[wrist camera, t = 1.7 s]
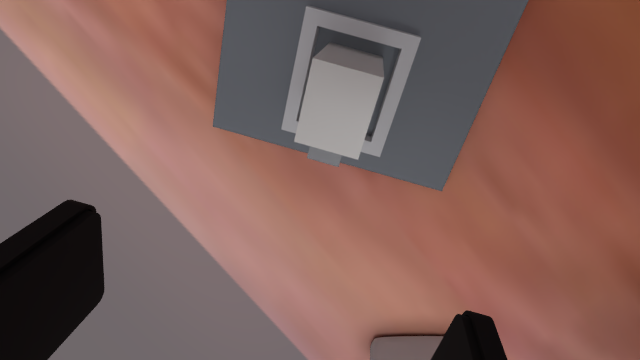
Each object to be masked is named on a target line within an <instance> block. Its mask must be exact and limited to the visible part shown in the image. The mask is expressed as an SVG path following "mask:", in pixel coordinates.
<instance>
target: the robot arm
mask: <svg viewBox="0 0 640 360" xmlns="http://www.w3.org/2000/svg"><path fill="white" fill-rule="evenodd" d="M103 293H104V273H103V251H102V231H101V217H100V215H99V214H98V213H96V209H95V207H94V206H92V205H88V204H85V203H81V202H77V201H74V200H67V201H65V202H63V203H61V204H60V205H58V206H57V207H55V208H54V209H52V210H51V211H49V212H48V213H46V214H45V215H43V216H42V217H40V218H38V219H37V220H36V221H34V222H33V223H31V224H29V225H28V226H26V227H25V228H23V229H22V230H20V231H19V232H17V233H16V234H14V235H13V236H11V237H9V238H8V239H6V240H5V241H4V242H2V243H0V360H47V359H48V358H49V357H50V356H51V355H52V354H53V353H54V352H55V351H56V350H57V348H58V347H59V346H60V345H61V344H62V343H63V342H64V341H65V340H66V339H67V337H68V336H69V335H70V334H71V333H72V332H73V331H74V330H75V329H76V328H77V326H78V325H79V324H80V323H81V322H82V321H83V320H84V319H85V317H86V316H87V315H88V314H89V313H90V312H91V311H92V310H93V309H94V308H95V307H96V306H97V304H98V303H99V302H100V300H101V299H102V296H103ZM431 360H507V357H506V355H505V352H504V349H503V346H502V343H501V341H500V338H499V335H498V332H497V329H496V327H495V324H494V321H493V319H492V318H491V317H489V316H486V315H482V314H479V313H475V312H472V311H465V312H464V313H463V314H462V315H460V314H457V315H456V316H455V317H454V319H453V321H452V323H451V324H450V326H449V328H448V330H447V332H446V333H445V335H444V337H443V339H442V340H441V342H440V344H439V346H438V347H437V349H436V351H435V353H434V354H433V356H432V358H431Z"/></svg>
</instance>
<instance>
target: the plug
mask: <svg viewBox="0 0 640 360" xmlns="http://www.w3.org/2000/svg"><path fill="white" fill-rule="evenodd" d="M383 80H384V67H383V57H382V56H378V55H374V54H371V53H367V52H363V51H360V50H356V49H353V48H349V47H345V46H342V45H338V44H335V43H331V42H330V43H329V44H328V45H327V46H325V47H324V48H323V49H322V50H321V51H320V52H319V53H318V54H317V55H316V56H314V57H313V59H312V64H311V68H310V72H309V77H308V81H307V86H306V90H305V95H304V99H303V104H302V108H301V113H300V117H299V122H298V126H297V130H296V135H295V139H294V142H297V143H300V144H304V145H307V146H310V148H309V152H308V156H307V158H309V159H312V160H316V161H319V162H323V163H326V164H330V165H333V166H337V167H339V164H340V160H341V157H342V155H343V156H346V157H350V158H353V159H357V160H358V158H359V155H360V152H361V149H362V146H363V143H364V139H365V136H366V133H367V130H368V127H369V124H370V121H371V118H372V114H373V111H374V108H375V105H376V102H377V99H378V96H379V92H380V89H381V86H382V83H383Z"/></svg>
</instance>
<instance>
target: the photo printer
mask: <svg viewBox="0 0 640 360" xmlns="http://www.w3.org/2000/svg"><path fill="white" fill-rule="evenodd" d="M443 337H444V336H395V337H380V338H375V339H374V340H373V342H372V343H371V346H370V360H431V358H432V356H433V354H434V353H435V351H436V349H437V347H438V346H439V344H440V342H441V340H442V339H443Z"/></svg>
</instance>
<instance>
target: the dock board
mask: <svg viewBox="0 0 640 360" xmlns="http://www.w3.org/2000/svg"><path fill="white" fill-rule="evenodd" d="M527 2H528V0H227V4H226V13H225V22H224V30H223V39H222V48H221V57H220V66H219V75H218V84H217V93H216V102H215V111H214V120H213V127H217V128H220V129H224V130H227V131H231V132H234V133H238V134H241V135H245V136H249V137H252V138H256V139H259V140H263V141H266V142H270V143H273V144H277V145H280V146H284V147H287V148H291V149H294V150H298V151H302V152H305V153H308V152H309V148H310V146H307V145H304V144H300V143H297V142H294V139H295V135H296V130H297V126H298V122H299V117H300V113H301V108H302V104H303V99H304V95H305V90H306V86H307V81H308V77H309V72H310V68H311V64H312V59H313V57H314V56H316V55H317V54H318V53H319V52H320V51H321V50H322V49H323V48H324V47H325V46H327V45H328V44H329V43H330V42H331V43H335V44H338V45H342V46H345V47H349V48H353V49H356V50H360V51H363V52H367V53H371V54H374V55H378V56H382V57H383V67H384V80H383V83H382V86H381V89H380V92H379V96H378V99H377V102H376V105H375V108H374V111H373V114H372V118H371V121H370V124H369V127H368V130H367V133H366V136H365V139H364V143H363V146H362V149H361V152H360V155H359V158H358V160H357V159H353V158H350V157H346V156H343V155H342V157H341V160H340V163H344V164H347V165H351V166H355V167H358V168H362V169H365V170H369V171H372V172H376V173H379V174H383V175H386V176H390V177H393V178H397V179H400V180H404V181H408V182H411V183H415V184H418V185H422V186H425V187H429V188H432V189H436V190H439V191H442V190H443V187H444V185H445V183H446V181H447V179H448V176H449V174H450V172H451V170H452V168H453V165H454V163H455V161H456V159H457V157H458V154H459V152H460V150H461V148H462V146H463V143H464V141H465V139H466V137H467V135H468V132H469V130H470V128H471V126H472V124H473V121H474V119H475V117H476V115H477V113H478V110H479V108H480V106H481V104H482V101H483V99H484V97H485V95H486V93H487V90H488V88H489V86H490V84H491V82H492V79H493V77H494V75H495V73H496V71H497V68H498V66H499V64H500V62H501V60H502V57H503V55H504V53H505V51H506V49H507V46H508V44H509V42H510V40H511V38H512V35H513V33H514V31H515V29H516V27H517V24H518V22H519V20H520V18H521V16H522V13H523V11H524V9H525V7H526V5H527Z"/></svg>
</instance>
